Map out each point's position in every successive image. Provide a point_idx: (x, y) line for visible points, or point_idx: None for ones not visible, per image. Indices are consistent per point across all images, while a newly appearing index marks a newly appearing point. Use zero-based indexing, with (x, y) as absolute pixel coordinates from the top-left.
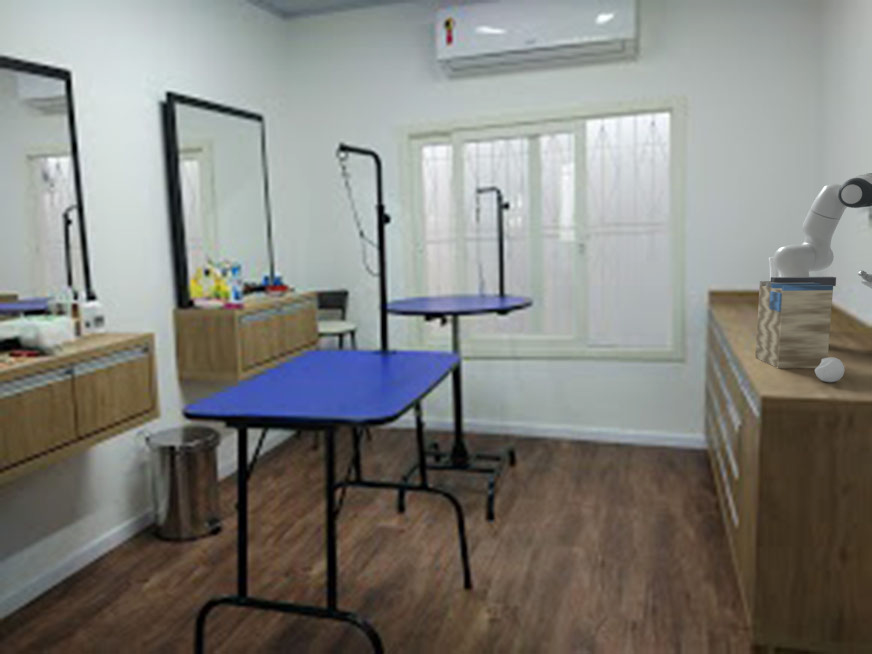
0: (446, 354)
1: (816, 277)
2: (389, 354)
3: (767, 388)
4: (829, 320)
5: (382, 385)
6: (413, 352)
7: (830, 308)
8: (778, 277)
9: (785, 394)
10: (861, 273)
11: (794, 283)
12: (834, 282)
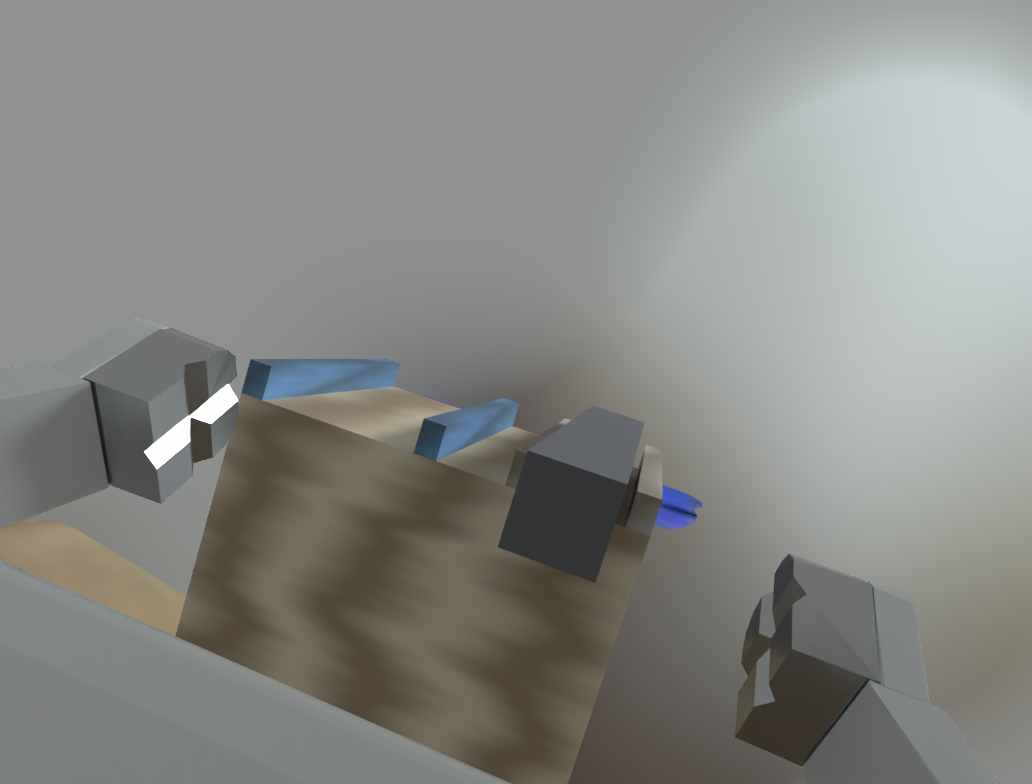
0: (663, 527)
1: (563, 431)
2: (665, 507)
3: (96, 555)
4: (188, 607)
5: None
6: (682, 521)
7: (210, 522)
8: (615, 416)
9: (15, 534)
10: (760, 619)
11: (483, 408)
12: (513, 504)
